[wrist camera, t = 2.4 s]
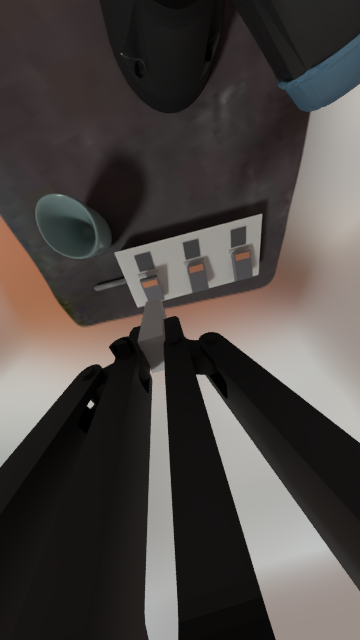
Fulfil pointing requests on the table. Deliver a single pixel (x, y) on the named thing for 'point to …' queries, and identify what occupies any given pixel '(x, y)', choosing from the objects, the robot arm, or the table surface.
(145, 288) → the rocker
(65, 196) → the cup
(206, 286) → the rocker
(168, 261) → the power strip
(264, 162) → the table surface
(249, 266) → the rocker
